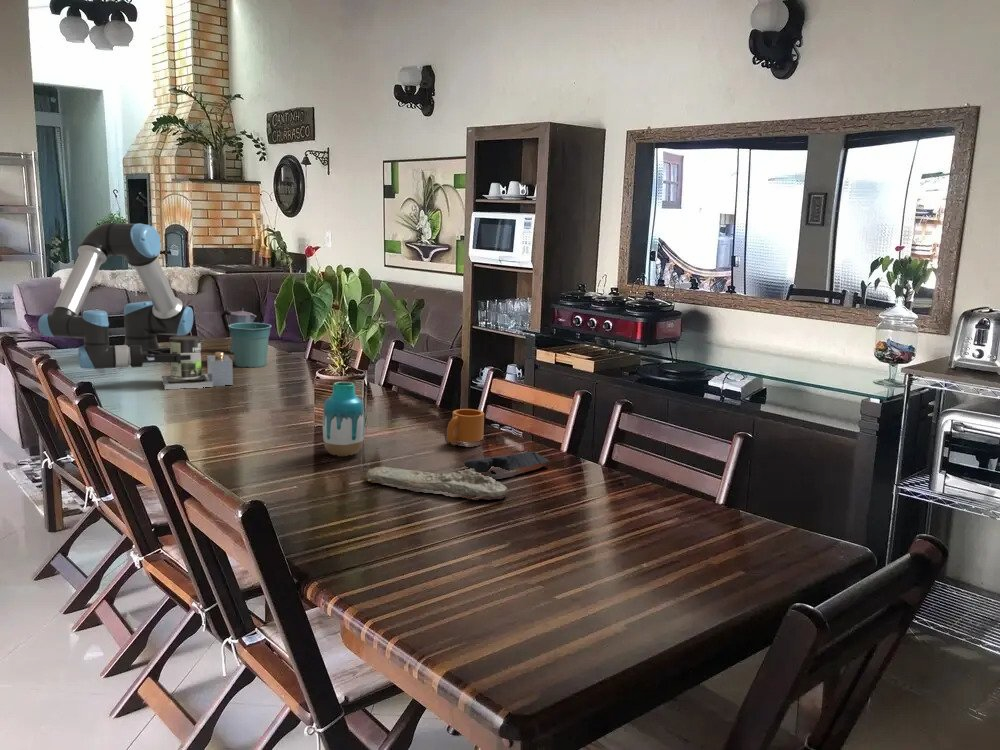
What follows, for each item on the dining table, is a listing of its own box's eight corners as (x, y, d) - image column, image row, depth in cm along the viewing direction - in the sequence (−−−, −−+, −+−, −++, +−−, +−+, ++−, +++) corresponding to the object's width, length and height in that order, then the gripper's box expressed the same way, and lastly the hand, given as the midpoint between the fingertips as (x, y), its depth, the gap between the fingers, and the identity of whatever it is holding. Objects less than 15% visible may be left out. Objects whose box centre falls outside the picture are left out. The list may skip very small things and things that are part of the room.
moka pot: (253, 355, 346) (252, 309, 342) (217, 354, 346) (216, 307, 342) (260, 351, 355) (259, 306, 351) (225, 350, 355) (224, 304, 351)
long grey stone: (377, 478, 199) (358, 493, 190) (376, 458, 198) (357, 472, 189) (513, 491, 189) (500, 507, 179) (513, 470, 187) (500, 485, 178)
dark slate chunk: (557, 472, 207) (559, 454, 206) (486, 485, 194) (487, 466, 194) (522, 456, 219) (523, 439, 218) (453, 467, 207) (453, 449, 206)
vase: (327, 462, 205) (327, 388, 201) (319, 451, 214) (319, 380, 211) (368, 459, 209) (369, 386, 205) (358, 448, 219) (359, 378, 215)
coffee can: (206, 374, 290) (205, 335, 288) (195, 380, 280) (194, 340, 277) (177, 373, 290) (176, 334, 288) (165, 379, 280) (164, 338, 278)
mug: (435, 443, 227) (436, 411, 225) (471, 438, 234) (472, 407, 232) (452, 450, 220) (453, 418, 218) (489, 445, 227) (490, 414, 225)
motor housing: (161, 381, 289) (160, 350, 287) (227, 378, 299) (226, 348, 297) (165, 390, 276) (163, 358, 274) (233, 386, 286) (232, 355, 283)
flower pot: (271, 369, 319) (271, 328, 316) (227, 369, 315) (226, 328, 312) (272, 361, 335) (272, 322, 332) (230, 361, 331) (230, 322, 328)
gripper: (128, 361, 286) (195, 359, 296) (131, 373, 267) (202, 370, 276) (127, 340, 285) (194, 338, 295) (130, 350, 265) (202, 348, 275)
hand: (198, 354), depth 286 cm, fingers closed on coffee can, 10 cm apart
